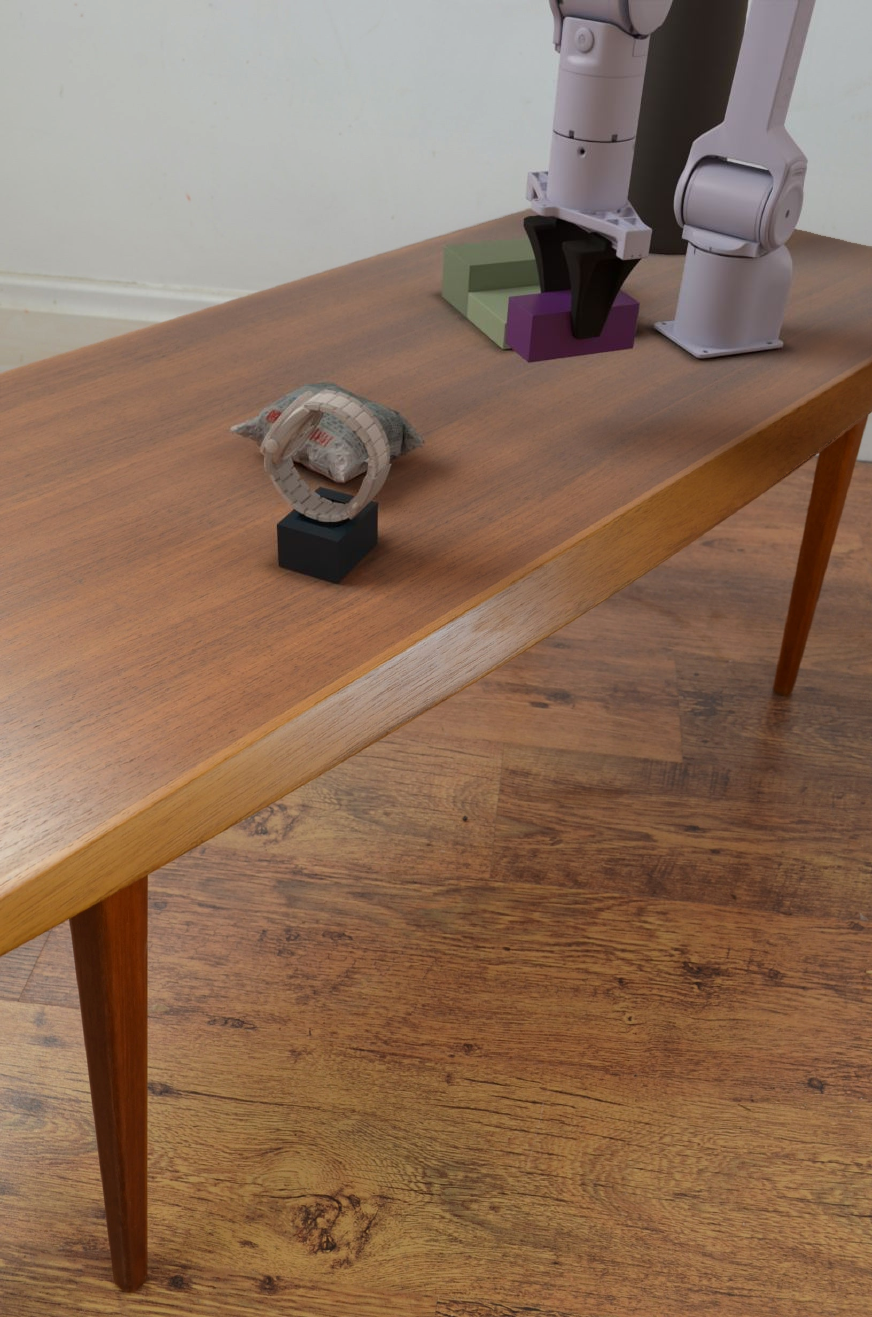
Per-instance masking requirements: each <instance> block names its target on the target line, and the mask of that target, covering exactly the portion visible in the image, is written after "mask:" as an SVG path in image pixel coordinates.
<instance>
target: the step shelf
mask: <svg viewBox="0 0 872 1317" xmlns="http://www.w3.org/2000/svg"><path fill="white" fill-rule="evenodd" d="M442 263H443V264H442V280H441V281H442V285H441V297H442V298H443V299H444V300H446V301H447V302H448V303H449V304H450V305H451V306H452V307H454V308H455V309H456V310H457V311H458V312H459V313H460V314H462V315H463V316H464V317H465V318H466V319H467V320H468V321H470V322H471V323H472V324H473V325H474V326H475V327H476V328H478V329H479V330H480V331H481V333H483V334H484V335H485V336H487V337H488V338H489V339H490V340H492V342H493V343H494V344H496V345H497V346H498V347H500V349H501V350H508V349H510V350H511V349H512V348H511V347H510V346H508V345H507V344H506V343H505V337H506V325H507V313H508V301H509V297H511V296H520V295H529V294H537V293H541V290H540V282H539V275H538V269H537V264H536V260H535V256H534V252H533V249H532V246H531V243H530V240H529V238H528V237H523V238H512V239H511V238H510V239H499V240H489V241H479V242H478V241H477V242H468V243H467V242H466V243H456V244H446V245H444V246H443V262H442ZM640 308H641V306H639V312H638V318H637V323H639V322H638V321H639V314H640V310H641V309H640ZM637 328H638V324H637V325H636V331H635V334H636V333H637V330H638V329H637Z"/></svg>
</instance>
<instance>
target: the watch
mask: <svg viewBox="0 0 872 1317" xmlns="http://www.w3.org/2000/svg"><path fill="white" fill-rule="evenodd" d="M324 412H326V413H329V414H332V413H333V415H334V416H335V417H337V418H339V419H341V420H342V421H345V420H346V421H345V422H346V424H347V425H348V426H349V427H351V428H352V429H353V430H354V431H357V432H356V433H357V435H358V436H359V437H360V439H361V440H362V442H364V443H366V442H367V443H366V444H365V447H366V449H367V452H368V454H369V456H371V457H370V463H369V464H368V471H366V475H365V477H363V480H362V483H361V486H360V487H359V490H358V492H357V494H356V495H352V494H348V493H345V492H341V491H339V490H338V491H337V490H334V489H330V488H326V487H322V486H319V487H317V488H316V489H315V490H313V489H310V486H309V485H308V484H307V483H306V482H305V480H304V479H302V478H301V475H300V473H299V472H298V470H297V468H296V467H295V466H294V465H295V464H294V461H292V459H291V457H294V456H295V455H296V453H297V451H298V450H299V449H300V448H301V446H302V445H303V444H304V443H305V442H306V441H307V439H308V438H309V437H310V436H311V434H312V433H313V432H314V430H315V429H316V427H317V426H318V424H319V423H320V421H321V419H322V417H323V414H324ZM358 415H359V416H358ZM357 416H358V417H357ZM373 416H374V414H373V413H372V412H371V411H370V410H369V409H368V408H367V407H366V406H365V405H363V404H362V403H361V402H360V401H359V400H357V399H355V398H354V397H350V396H349V395H347V394H345V393H342V392H338V393H337V391H333V390H327V389H326V390H323V391H321V392H319V393H318V394H316V395H315V396H314V393H313V392H311V391H307V392H305V393H303V394H302V395H300V396H299V397H298V398H297V399H296V400H294V401H293V402H292V403H291V404H290V405H289V406H288V407H287V409H286V410H285V411H284V412H283V413H282V414H281V415H280V417H279V418H278V419H277V420H276V422H275V423H274V424H273V426H272V427H271V429H270V430H269V431H268V433H267V435H266V436H265V438H264V440H263V442H262V444H261V447H259V453H260V454H261V455H262V456H264V460H263V464H264V466H263V467H264V471H265V473H266V474H268V476H269V479H270V481H271V482H272V485H273V486H274V488H275V490H276V491H277V492H278V494H279V495H281V498H282V499H283V500H284V501H285V502H286V503H287V504H288V505H289V506H291V508H293V509H292V510H291V511H290V512H289V513H288V514H286V515H285V516H284V517H283V518H282V519H281V520H280V521H278V522H277V523H276V537H277V539H276V540H277V562H278V564H277V565H278V567H280V568H283V569H286V570H288V571H289V570H290V571H293V572H296V573H299V574H303V575H307V576H310V577H313V578H316V579H319V580H323V581H325V582H329V583H333V584H336V585H339V584H340V583H341V582H342V580H344V579H345V578H346V577H347V576H348V574H349V573H350V572H352V571H353V570H354V568H355V567H356V566H358V564H359V563H361V561H362V560H363V559H364V558H365V557H366V556H367V555H368V554H369V553H370V552H371V551H372V550H373V549H374V548H375V547H376V546H377V545H378V543H379V542H378V540H379V538H378V537H379V528H378V527H379V502H378V501H374V500H373V499H374V498H375V497H376V496H377V495H378V494H379V492H380V490H381V489H382V488H383V486H384V484H385V482H386V481H387V478H388V475H389V472H390V470H391V467H392V463H390V462H391V461H390V456H389V455H390V448H389V444H387V443H388V440H387V436H386V434H385V432H384V430H383V428H382V426H381V424H380V422H379V421H378V419H377V418H376V417H375V416H374V417H373ZM372 417H373V418H372ZM371 418H372V419H371ZM371 425H372V426H371ZM369 426H370V427H369ZM368 427H369V428H368ZM367 428H368V429H367ZM358 429H359V430H358ZM366 429H367V430H366ZM365 430H366V431H365Z"/></svg>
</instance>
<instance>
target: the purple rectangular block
mask: <svg viewBox="0 0 872 1317" xmlns="http://www.w3.org/2000/svg"><path fill="white" fill-rule="evenodd" d="M640 305H641V303H640V302H639V301H638V300H636V299H635V298H633V297H632V296H630V295H629V294H627V293H626V292H624V291H623V290H622V289H620V290H619V292H618V294H617V296H616V298H615V301H614V303H613V305H612V307H611V310H610V312H609V315H608V317H607V320H606V322H605V325H604V327H603V330H602V332H601V334H600V336H599V337H594V338H586V339H579V340H578V339H575V338H574V337H573V335H572V329H571V290H564V291H555V292H546V293H537V294H529V295H520V296H511V297H509V301H508V313H507V325H506V337H505V343H506V344H507V345H508V346H510V347H511V349H512V350H513V351H514V352H515V353H516V354H518V355H519V357H521V358H522V359H523V360H524V361H526V363H529V364H530V363H536V362H545V361H550V360H560V359H566V358H574V357H580V356H581V357H582V356H588V355H596V354H602V353H603V354H604V353H611V352H619V351H625V350H632V349H634V343H635V337H636V333H635V331H636V332H637V329H636V325H637V326H638V322H637V318H638V319H639V316H638V312H639V313H640V310H639V307H640Z"/></svg>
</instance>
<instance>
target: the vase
mask: <svg viewBox="0 0 872 1317" xmlns="http://www.w3.org/2000/svg"><path fill="white" fill-rule="evenodd" d="M748 9H749V0H673V1H672V4H671V7H670V9H669V12H668V14H667V16H666V18H665V20H664V22H663V24H662V25H661V26H659V27H658V28H657V29H656V30H655V31H653V32H652V33H650V40H649V47H648V55H647V62H646V69H645V75H644V82H643V89H642V97H641V104H640V111H639V118H638V125H637V133H636V140H635V147H634V154H633V161H632V169H631V176H630V183H629V190H628V197H627V199H628V201H629V202H630V204H631V205H632V207H633V208H634V210H635V212H636V213H637V215H638V216H639V218H640V219H641V221H642V222H643V223H644V224H645V225H646V226H648V227H649V228H651V229H652V234H651V240H650V247H649V253H653V254H667V255H677V254H678V255H679V254H682V255H683V254H686V253H687V247H688V242H689V241H688V240H686V239H683V238H682V235H683V229H684V228H682V227H680V226H679V224H678V223H677V220H676V216H675V212H674V197H675V192H676V188H677V184H678V181H679V179H680V177H681V175H682V173H683V171H684V169H685V166H686V164H687V161H688V158H689V154H690V151H691V148H692V145H693V142H694V141H695V140H696V139H697V138H699V137H700V136H701V135H703V134H704V133H706V132H708V131H709V130H711V129H713V128H714V127H716V126H718V125H720V124H721V123H722V122H723V121H724V119H725V115H726V110H727V106H728V102H729V97H730V93H731V88H732V84H733V80H734V75H735V71H736V67H737V62H738V58H739V53H740V49H741V45H742V40H743V36H744V32H745V27H746V23H747V16H748ZM720 159H722V160H726V161H728V158H725V157H721V158H720Z"/></svg>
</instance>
